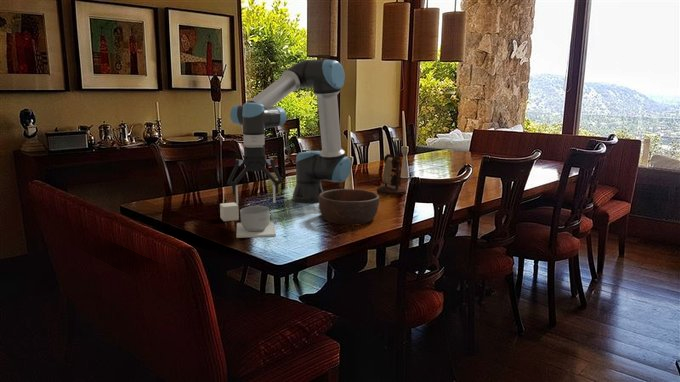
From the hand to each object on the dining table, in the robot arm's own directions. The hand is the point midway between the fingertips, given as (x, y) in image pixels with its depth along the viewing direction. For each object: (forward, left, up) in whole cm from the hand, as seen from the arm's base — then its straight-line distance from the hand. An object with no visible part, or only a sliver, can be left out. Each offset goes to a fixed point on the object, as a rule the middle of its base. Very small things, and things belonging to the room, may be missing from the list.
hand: (255, 202), depth 192 cm
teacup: (0, 0, -10) cm, 10 cm away
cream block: (+10, -18, -11) cm, 23 cm away
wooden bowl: (-38, -12, -11) cm, 41 cm away
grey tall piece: (-69, -56, -11) cm, 89 cm away
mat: (0, 0, -11) cm, 11 cm away
